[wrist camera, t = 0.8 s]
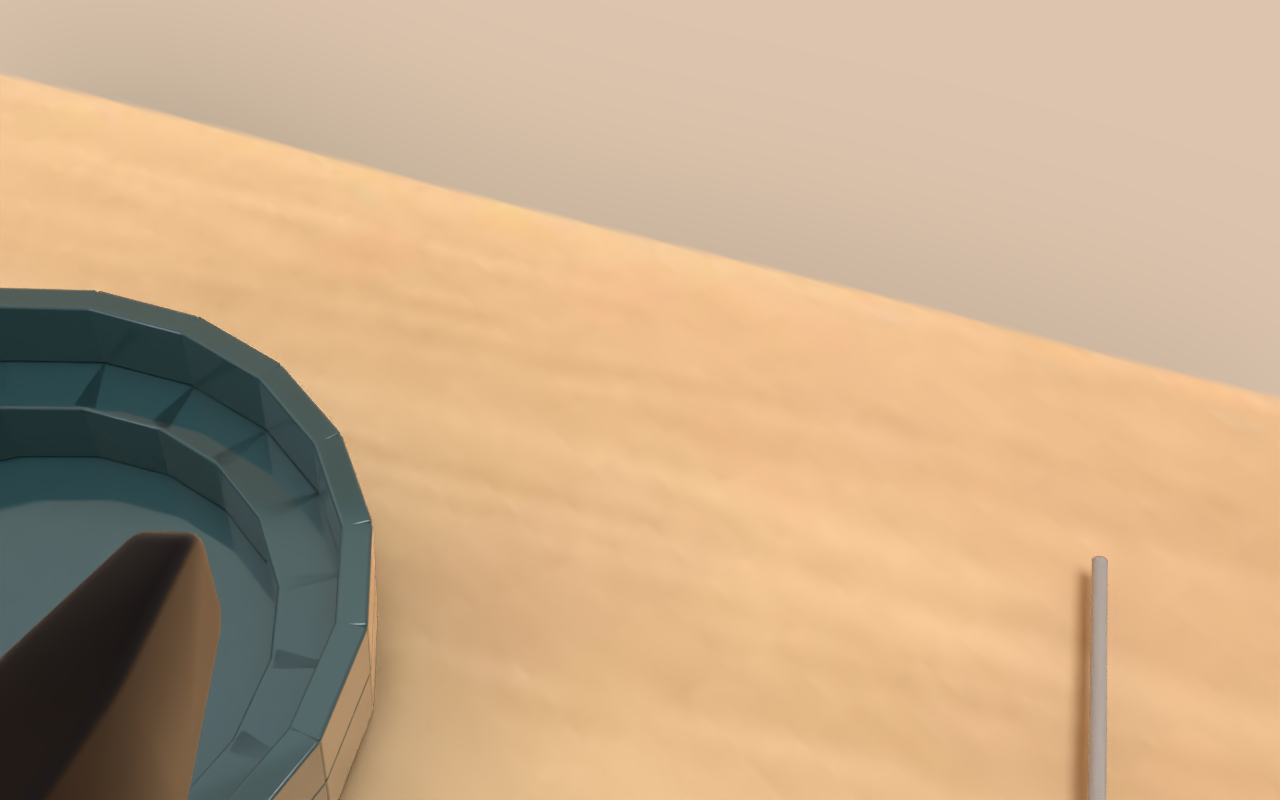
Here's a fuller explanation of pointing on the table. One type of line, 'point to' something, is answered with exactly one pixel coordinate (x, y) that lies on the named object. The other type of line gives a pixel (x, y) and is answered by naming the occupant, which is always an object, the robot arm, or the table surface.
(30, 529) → the bowl
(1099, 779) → the lollipop
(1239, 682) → the table surface
